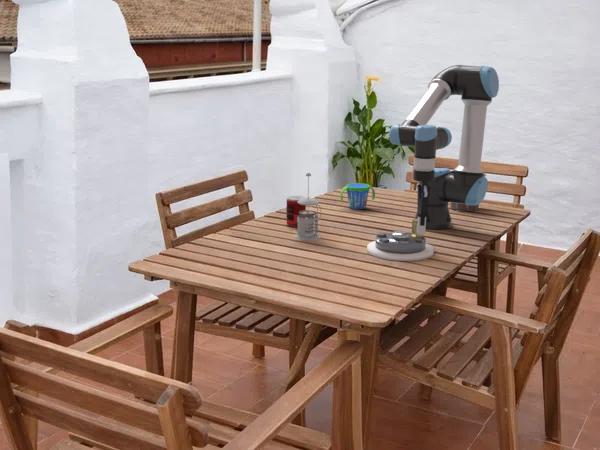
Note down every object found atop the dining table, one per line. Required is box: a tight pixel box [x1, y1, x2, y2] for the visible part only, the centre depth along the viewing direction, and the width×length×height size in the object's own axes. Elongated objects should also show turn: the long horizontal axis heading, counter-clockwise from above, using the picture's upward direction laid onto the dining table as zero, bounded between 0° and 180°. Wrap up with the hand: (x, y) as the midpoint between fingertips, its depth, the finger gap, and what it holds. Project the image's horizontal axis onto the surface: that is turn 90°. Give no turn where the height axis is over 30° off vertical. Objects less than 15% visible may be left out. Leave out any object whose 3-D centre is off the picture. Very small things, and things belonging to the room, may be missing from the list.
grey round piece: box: [375, 218, 427, 254], centre depth 304 cm, size 18×18×9 cm
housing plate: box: [366, 240, 435, 262], centre depth 306 cm, size 24×24×2 cm
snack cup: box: [339, 182, 376, 210], centre depth 373 cm, size 16×10×10 cm
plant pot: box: [450, 169, 487, 212], centre depth 373 cm, size 16×16×16 cm
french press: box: [294, 172, 322, 241], centre depth 322 cm, size 10×12×25 cm
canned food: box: [286, 195, 307, 227], centre depth 342 cm, size 8×8×11 cm
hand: (421, 233), depth 305 cm, fingers closed
